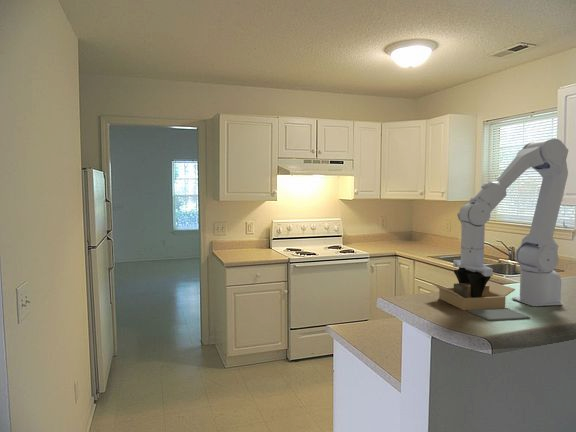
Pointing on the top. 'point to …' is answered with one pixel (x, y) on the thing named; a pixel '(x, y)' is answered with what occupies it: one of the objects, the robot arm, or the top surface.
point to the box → (468, 290)
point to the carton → (491, 302)
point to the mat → (498, 314)
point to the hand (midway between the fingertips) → (470, 297)
